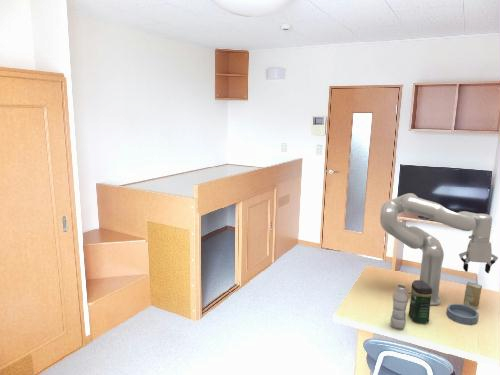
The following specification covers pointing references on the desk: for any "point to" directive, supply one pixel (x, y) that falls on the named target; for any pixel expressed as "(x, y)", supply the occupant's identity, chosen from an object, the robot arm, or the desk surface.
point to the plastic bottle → (399, 307)
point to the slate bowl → (462, 314)
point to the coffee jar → (420, 301)
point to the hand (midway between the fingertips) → (476, 271)
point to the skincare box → (472, 295)
